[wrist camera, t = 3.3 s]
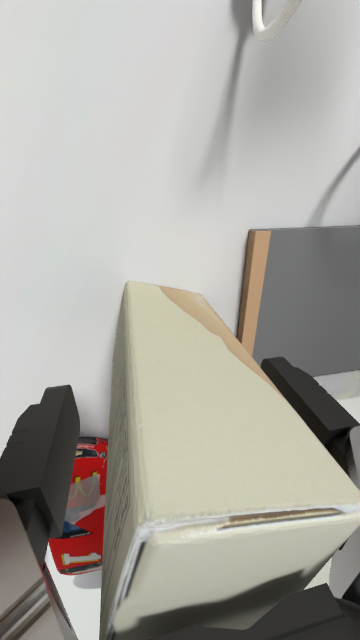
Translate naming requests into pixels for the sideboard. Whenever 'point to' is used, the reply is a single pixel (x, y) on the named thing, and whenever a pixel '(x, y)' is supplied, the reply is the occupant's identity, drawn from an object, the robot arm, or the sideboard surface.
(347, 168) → the sideboard surface
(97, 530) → the race car
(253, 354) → the mat
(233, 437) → the box
